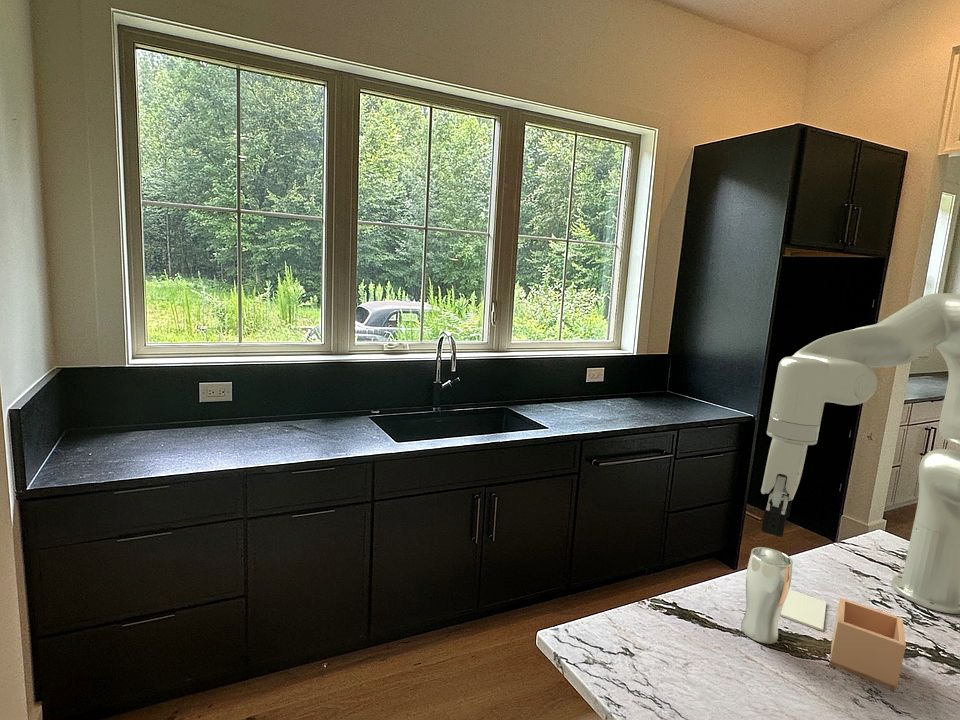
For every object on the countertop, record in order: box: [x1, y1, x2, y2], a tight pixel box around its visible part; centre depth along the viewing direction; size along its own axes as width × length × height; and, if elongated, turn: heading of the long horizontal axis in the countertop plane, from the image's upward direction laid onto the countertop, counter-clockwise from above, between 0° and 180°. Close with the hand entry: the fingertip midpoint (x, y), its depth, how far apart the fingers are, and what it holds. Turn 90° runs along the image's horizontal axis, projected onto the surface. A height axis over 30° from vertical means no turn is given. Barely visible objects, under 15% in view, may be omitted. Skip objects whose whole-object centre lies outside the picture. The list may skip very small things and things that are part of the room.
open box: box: [829, 597, 907, 692], centre depth 92 cm, size 9×9×8 cm
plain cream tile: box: [779, 589, 827, 632], centre depth 108 cm, size 11×11×1 cm
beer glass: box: [740, 546, 794, 645], centre depth 98 cm, size 7×7×15 cm
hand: (775, 524), depth 96 cm, fingers open, 9 cm apart
